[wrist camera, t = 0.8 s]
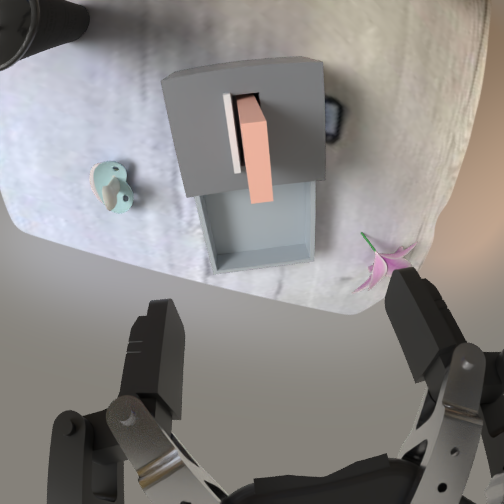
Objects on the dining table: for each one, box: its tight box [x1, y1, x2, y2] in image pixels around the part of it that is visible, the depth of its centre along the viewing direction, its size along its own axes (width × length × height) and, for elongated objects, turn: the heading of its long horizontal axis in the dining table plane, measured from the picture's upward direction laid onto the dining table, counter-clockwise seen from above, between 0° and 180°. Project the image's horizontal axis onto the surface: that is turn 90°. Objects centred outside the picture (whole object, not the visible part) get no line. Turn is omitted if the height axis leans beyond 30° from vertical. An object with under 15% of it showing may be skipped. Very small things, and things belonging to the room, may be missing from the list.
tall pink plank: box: [236, 93, 273, 204], centre depth 25 cm, size 2×6×13 cm, turn 6°
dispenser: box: [161, 57, 326, 198], centre depth 29 cm, size 14×12×9 cm
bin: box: [194, 181, 316, 274], centre depth 40 cm, size 14×13×4 cm
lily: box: [351, 232, 418, 294], centre depth 44 cm, size 12×12×10 cm
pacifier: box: [90, 161, 134, 213], centre depth 34 cm, size 7×6×6 cm
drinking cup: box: [0, 0, 89, 71], centre depth 15 cm, size 8×8×20 cm
